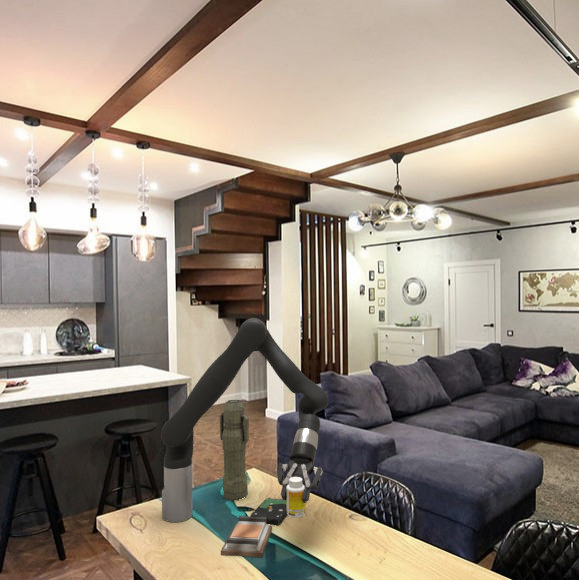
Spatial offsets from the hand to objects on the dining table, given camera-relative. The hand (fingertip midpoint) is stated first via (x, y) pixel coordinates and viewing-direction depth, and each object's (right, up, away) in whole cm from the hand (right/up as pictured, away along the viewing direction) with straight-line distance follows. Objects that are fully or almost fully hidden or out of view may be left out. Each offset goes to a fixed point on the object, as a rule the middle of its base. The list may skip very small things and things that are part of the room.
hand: (294, 500), depth 134 cm
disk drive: (-7, -15, +22) cm, 28 cm away
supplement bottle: (+1, -5, +2) cm, 5 cm away
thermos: (-21, -16, +37) cm, 46 cm away
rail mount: (-14, -14, +4) cm, 20 cm away
